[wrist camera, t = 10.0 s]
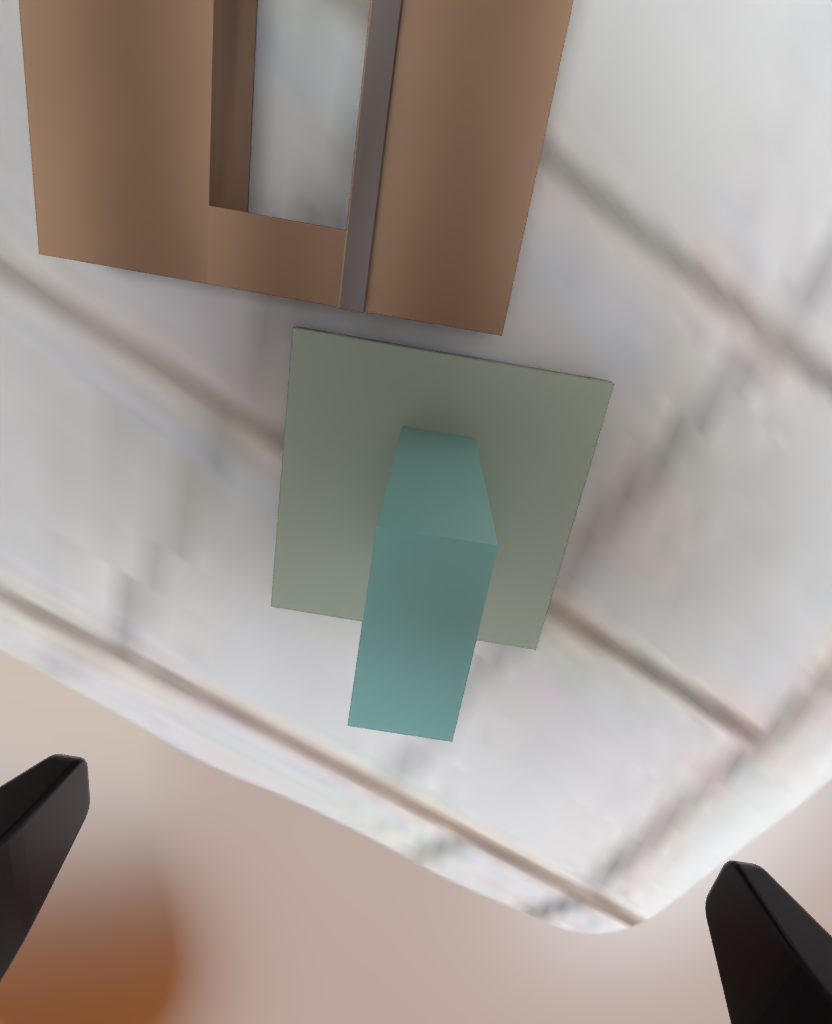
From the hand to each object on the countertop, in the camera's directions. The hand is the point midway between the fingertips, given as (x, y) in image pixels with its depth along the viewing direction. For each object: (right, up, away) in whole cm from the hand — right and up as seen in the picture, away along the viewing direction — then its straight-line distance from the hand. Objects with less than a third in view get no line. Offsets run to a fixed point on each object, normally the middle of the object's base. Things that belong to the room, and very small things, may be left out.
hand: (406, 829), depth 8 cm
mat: (+1, +5, +12) cm, 13 cm away
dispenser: (-3, +16, +8) cm, 18 cm away
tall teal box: (+1, +5, +11) cm, 12 cm away
